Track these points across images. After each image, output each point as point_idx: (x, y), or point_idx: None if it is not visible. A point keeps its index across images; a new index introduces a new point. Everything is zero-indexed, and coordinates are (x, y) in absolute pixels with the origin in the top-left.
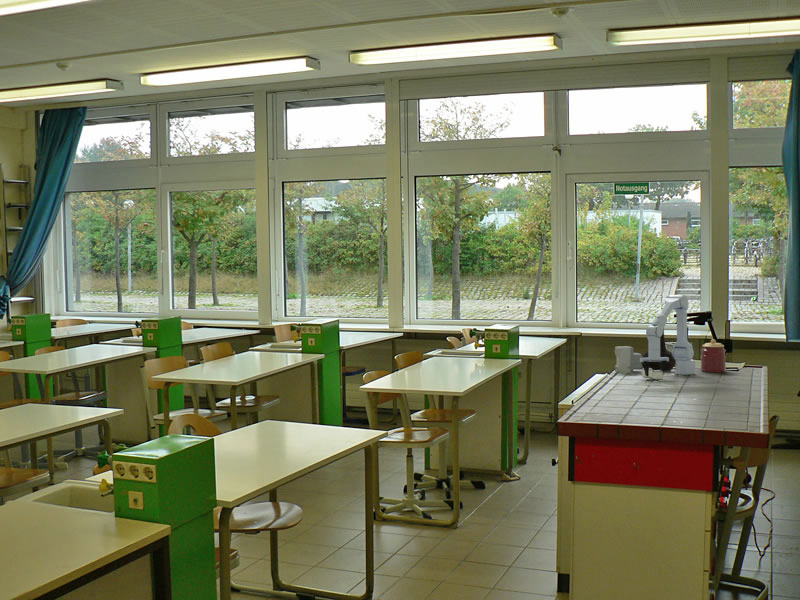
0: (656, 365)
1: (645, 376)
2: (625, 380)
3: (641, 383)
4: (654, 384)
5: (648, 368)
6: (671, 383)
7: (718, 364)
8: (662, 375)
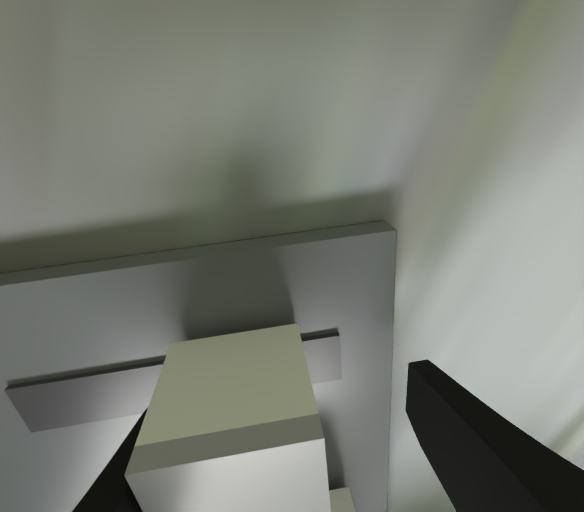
0: None
1: (347, 491)
2: (547, 410)
3: (521, 191)
4: (387, 54)
5: (537, 489)
6: (54, 151)
7: None
8: (159, 385)
